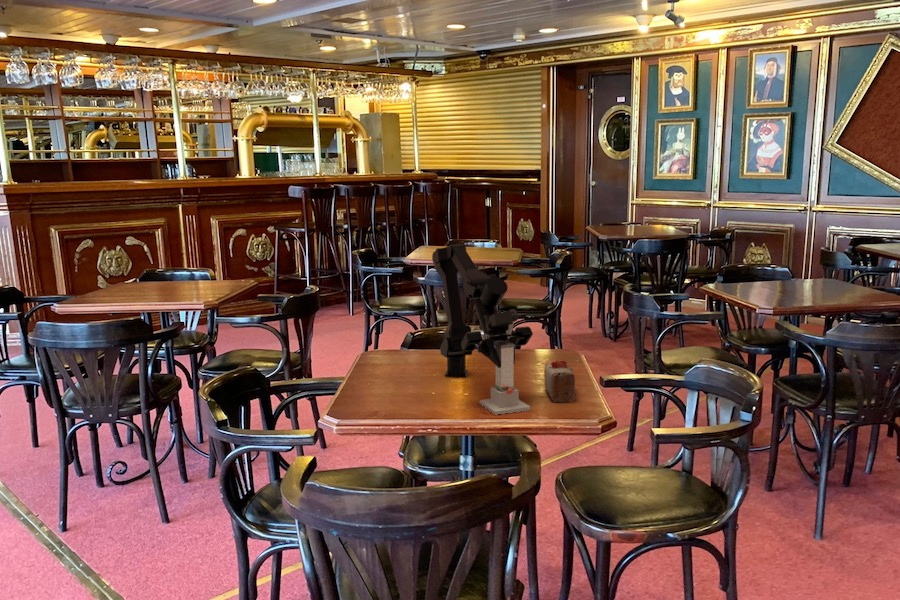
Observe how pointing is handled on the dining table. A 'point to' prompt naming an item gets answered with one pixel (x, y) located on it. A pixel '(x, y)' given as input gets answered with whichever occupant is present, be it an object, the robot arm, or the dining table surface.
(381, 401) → the dining table surface
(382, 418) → the dining table surface
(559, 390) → the food item
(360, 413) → the dining table surface
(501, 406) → the stand base
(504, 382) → the column
